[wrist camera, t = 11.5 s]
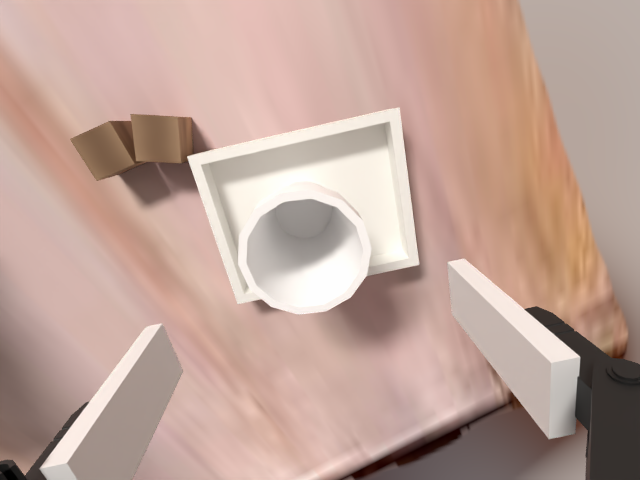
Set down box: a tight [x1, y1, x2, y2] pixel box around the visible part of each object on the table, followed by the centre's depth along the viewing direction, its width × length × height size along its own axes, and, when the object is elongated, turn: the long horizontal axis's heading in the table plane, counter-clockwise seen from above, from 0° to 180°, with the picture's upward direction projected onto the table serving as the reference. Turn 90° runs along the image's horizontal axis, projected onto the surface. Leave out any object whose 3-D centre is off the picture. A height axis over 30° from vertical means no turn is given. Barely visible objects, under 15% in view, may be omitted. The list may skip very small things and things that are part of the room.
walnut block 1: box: [70, 121, 147, 181], centre depth 32 cm, size 4×4×4 cm
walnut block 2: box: [131, 114, 194, 163], centre depth 32 cm, size 4×4×4 cm
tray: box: [187, 108, 419, 304], centre depth 35 cm, size 20×16×4 cm
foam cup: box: [238, 180, 372, 315], centre depth 30 cm, size 10×9×13 cm
